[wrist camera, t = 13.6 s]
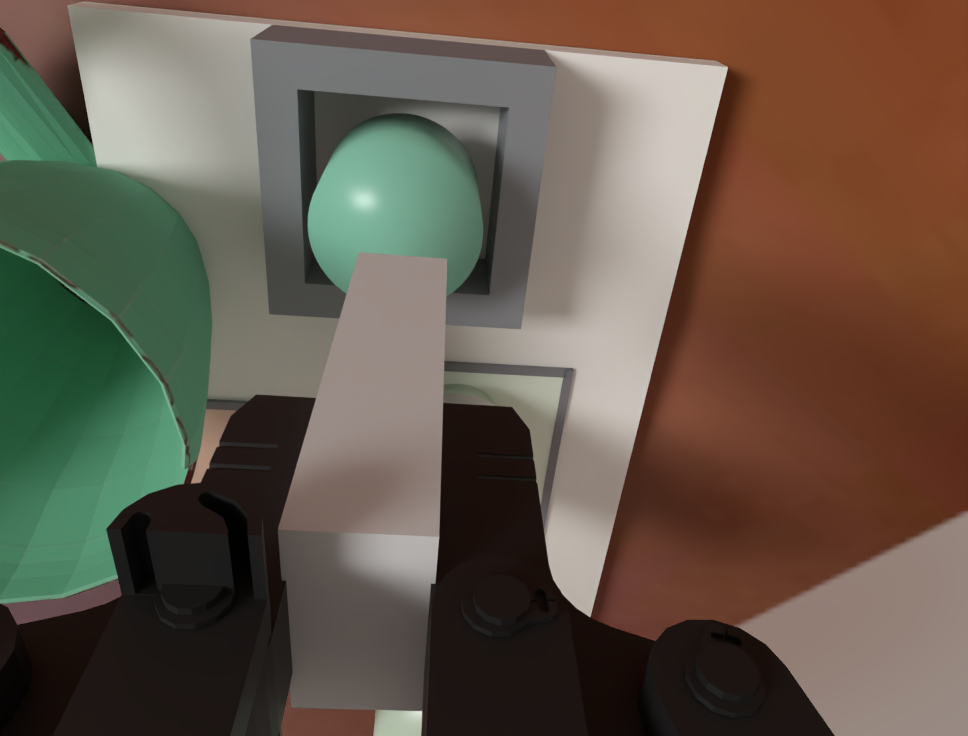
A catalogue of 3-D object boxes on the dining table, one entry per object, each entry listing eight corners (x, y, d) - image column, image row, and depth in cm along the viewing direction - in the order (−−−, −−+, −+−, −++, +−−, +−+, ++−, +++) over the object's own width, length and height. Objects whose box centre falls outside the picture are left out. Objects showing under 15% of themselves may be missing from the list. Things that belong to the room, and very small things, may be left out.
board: (191, 618, 32) (165, 692, 29) (84, 1, 19) (17, 17, 16) (579, 628, 33) (592, 699, 30) (716, 60, 20) (762, 85, 18)
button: (326, 256, 20) (310, 304, 18) (323, 106, 18) (304, 136, 16) (471, 266, 20) (475, 314, 18) (485, 120, 18) (491, 151, 16)
